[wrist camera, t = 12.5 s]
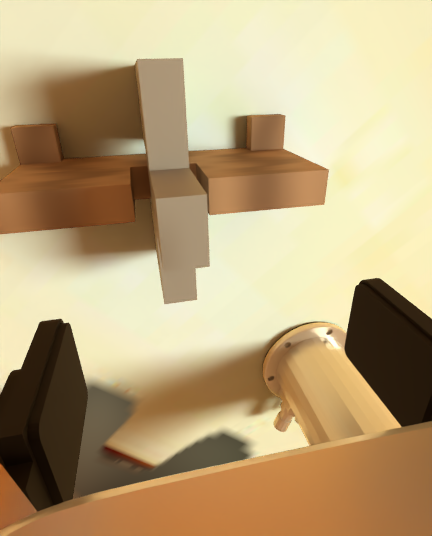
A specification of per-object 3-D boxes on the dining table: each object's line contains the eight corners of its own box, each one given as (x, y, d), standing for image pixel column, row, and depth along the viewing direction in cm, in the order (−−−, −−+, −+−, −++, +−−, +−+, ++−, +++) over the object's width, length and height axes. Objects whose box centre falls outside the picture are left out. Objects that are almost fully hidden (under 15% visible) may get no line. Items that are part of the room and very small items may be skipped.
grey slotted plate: (181, 246, 36) (212, 351, 22) (156, 249, 36) (172, 358, 22) (166, 64, 28) (201, 51, 15) (134, 65, 28) (139, 51, 14)
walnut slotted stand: (279, 114, 32) (334, 127, 23) (273, 200, 36) (319, 239, 27) (16, 125, 28) (-35, 146, 19) (41, 220, 32) (8, 273, 23)
